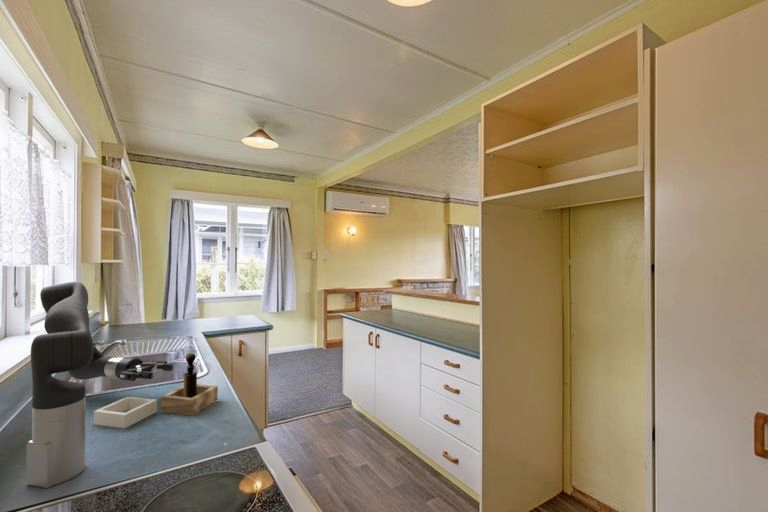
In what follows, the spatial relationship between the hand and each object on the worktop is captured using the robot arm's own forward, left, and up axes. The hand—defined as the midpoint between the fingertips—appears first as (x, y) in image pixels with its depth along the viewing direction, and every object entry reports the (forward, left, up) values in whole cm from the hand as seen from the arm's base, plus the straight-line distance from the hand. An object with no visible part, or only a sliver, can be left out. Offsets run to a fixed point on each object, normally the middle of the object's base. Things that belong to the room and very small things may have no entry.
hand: (162, 371), depth 123 cm
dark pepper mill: (0, -11, -11) cm, 16 cm away
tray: (-12, +2, -11) cm, 16 cm away
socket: (0, -11, -11) cm, 16 cm away
